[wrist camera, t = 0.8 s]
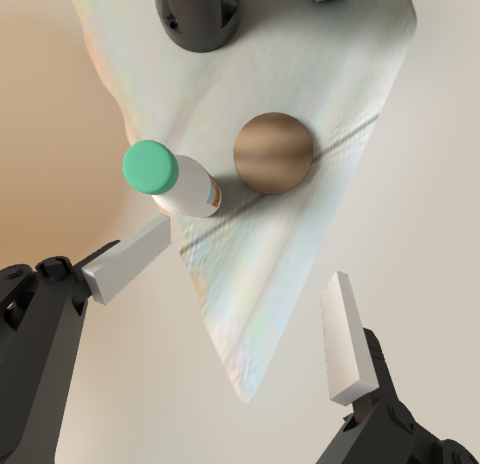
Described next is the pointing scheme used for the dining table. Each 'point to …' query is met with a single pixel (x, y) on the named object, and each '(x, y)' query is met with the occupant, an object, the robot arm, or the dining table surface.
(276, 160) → the brown round coaster
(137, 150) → the milk bottle
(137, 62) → the dining table surface
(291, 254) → the dining table surface
